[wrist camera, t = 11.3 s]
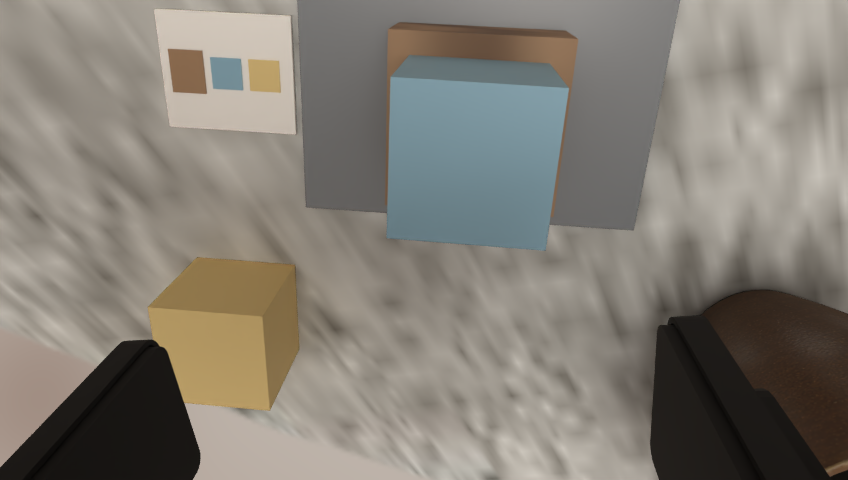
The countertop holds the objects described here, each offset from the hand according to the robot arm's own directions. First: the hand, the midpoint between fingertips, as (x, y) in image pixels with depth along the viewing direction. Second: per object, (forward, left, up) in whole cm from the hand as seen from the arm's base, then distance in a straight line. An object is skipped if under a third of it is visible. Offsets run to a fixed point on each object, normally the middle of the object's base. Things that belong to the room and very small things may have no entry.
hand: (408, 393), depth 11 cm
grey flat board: (+1, +1, -22) cm, 22 cm away
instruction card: (-12, +2, -22) cm, 25 cm away
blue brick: (+1, +1, -18) cm, 18 cm away
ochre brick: (-12, -12, -22) cm, 28 cm away
